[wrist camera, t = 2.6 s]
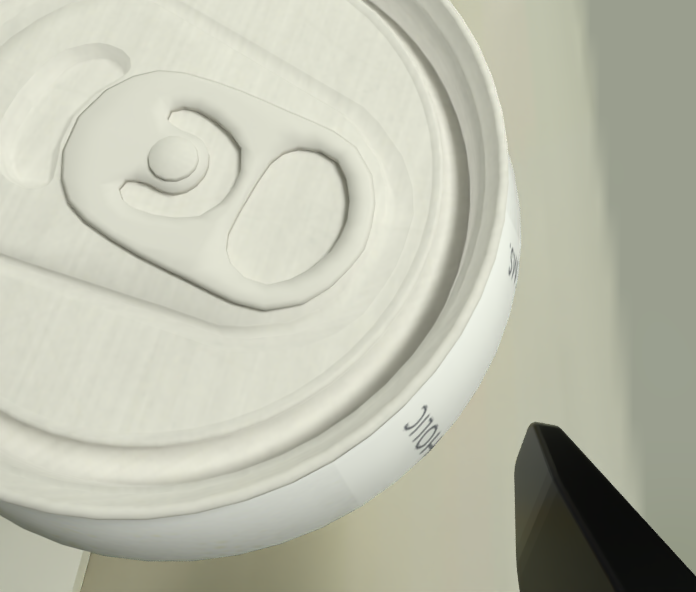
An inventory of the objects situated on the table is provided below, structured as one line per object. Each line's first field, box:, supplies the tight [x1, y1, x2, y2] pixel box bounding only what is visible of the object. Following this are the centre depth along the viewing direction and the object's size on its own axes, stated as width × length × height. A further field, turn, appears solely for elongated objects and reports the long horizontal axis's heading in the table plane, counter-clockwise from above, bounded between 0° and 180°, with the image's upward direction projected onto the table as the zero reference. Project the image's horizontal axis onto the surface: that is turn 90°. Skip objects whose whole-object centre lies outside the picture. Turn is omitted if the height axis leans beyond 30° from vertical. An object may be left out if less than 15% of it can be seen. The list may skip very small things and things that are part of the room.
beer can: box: [0, 0, 521, 561], centre depth 12 cm, size 6×6×15 cm
